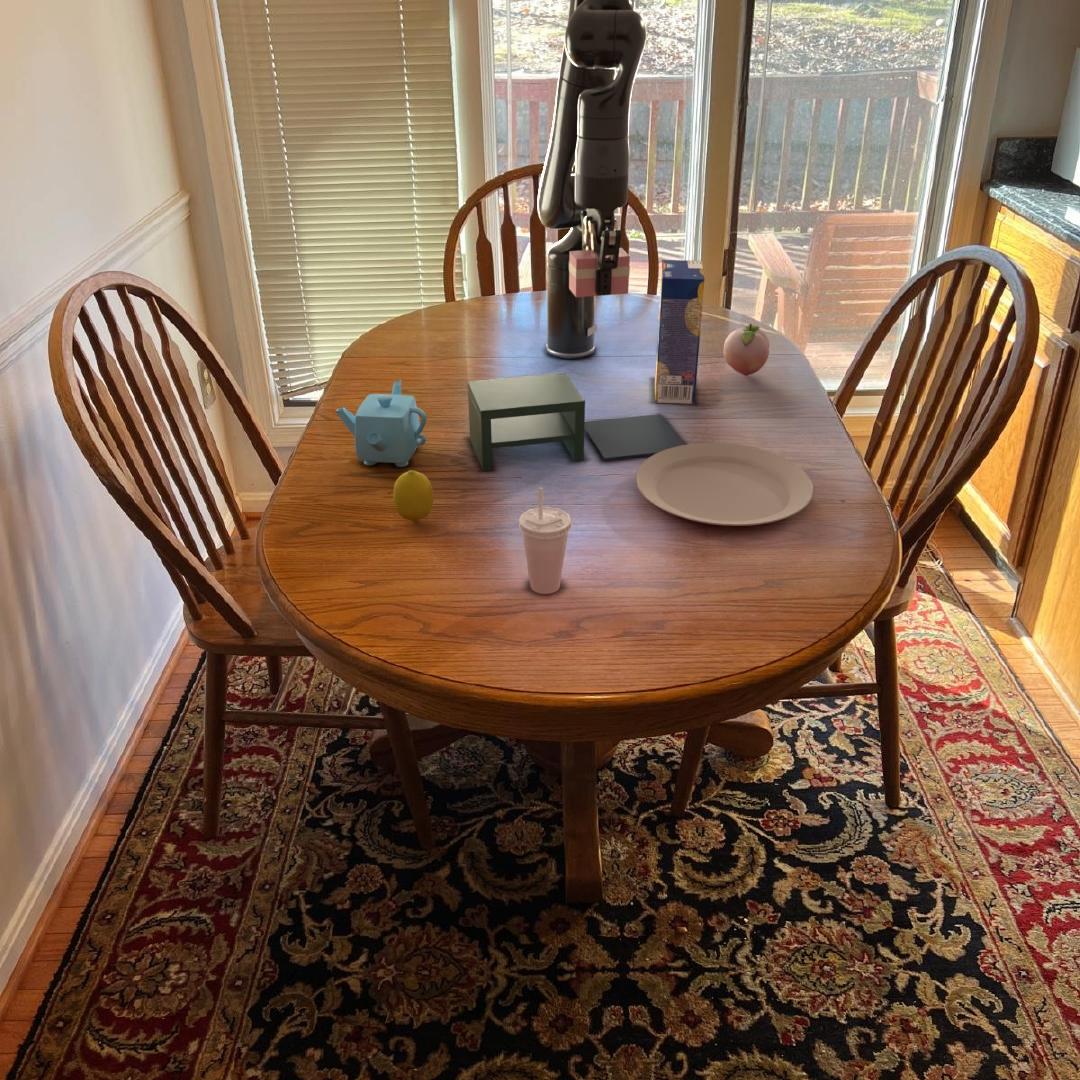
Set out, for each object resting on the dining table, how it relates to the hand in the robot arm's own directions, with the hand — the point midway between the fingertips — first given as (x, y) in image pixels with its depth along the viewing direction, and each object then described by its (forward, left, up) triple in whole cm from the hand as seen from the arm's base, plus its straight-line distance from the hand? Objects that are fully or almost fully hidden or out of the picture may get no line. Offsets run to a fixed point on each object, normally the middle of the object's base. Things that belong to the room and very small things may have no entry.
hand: (598, 288), depth 151 cm
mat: (0, +7, -25) cm, 26 cm away
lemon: (+19, -31, -25) cm, 45 cm away
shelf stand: (0, -11, -25) cm, 28 cm away
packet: (0, 0, 0) cm, 0 cm away
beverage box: (-17, +20, -25) cm, 36 cm away
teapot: (-3, -33, -25) cm, 42 cm away
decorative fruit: (-21, +35, -25) cm, 48 cm away
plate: (+21, +14, -25) cm, 36 cm away
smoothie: (+39, -17, -25) cm, 50 cm away
